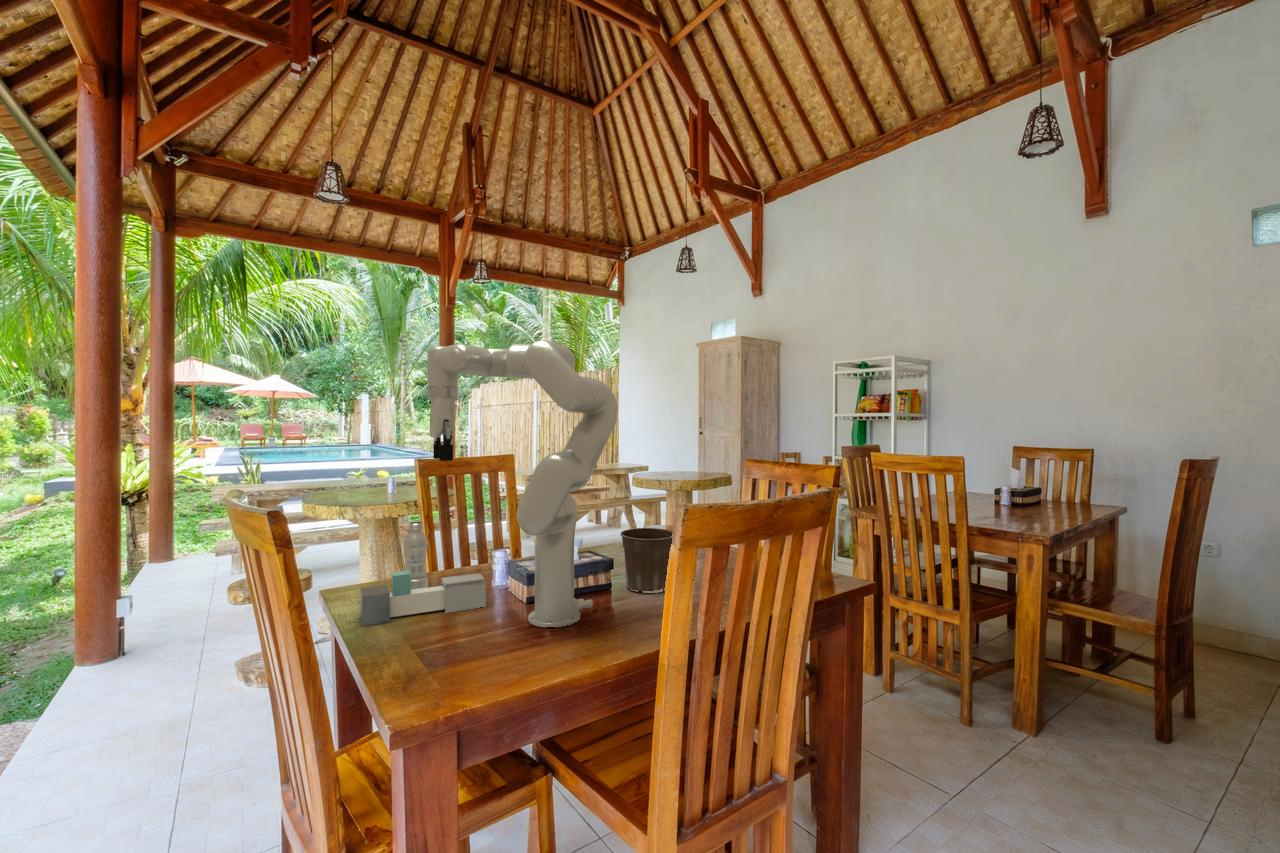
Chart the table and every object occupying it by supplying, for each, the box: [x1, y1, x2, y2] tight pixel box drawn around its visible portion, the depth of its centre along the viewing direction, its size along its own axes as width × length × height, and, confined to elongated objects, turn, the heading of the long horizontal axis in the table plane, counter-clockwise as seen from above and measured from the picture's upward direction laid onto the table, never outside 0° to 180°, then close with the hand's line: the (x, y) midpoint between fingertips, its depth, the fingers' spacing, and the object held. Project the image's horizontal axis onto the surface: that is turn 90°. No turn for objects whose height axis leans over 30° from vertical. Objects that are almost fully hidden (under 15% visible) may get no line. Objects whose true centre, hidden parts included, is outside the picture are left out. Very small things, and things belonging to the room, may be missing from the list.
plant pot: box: [620, 527, 674, 593], centre depth 166 cm, size 16×16×16 cm
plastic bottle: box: [403, 521, 429, 590], centre depth 160 cm, size 6×7×20 cm
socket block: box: [359, 584, 391, 627], centre depth 140 cm, size 6×8×7 cm
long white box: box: [389, 570, 445, 618], centre depth 143 cm, size 20×4×10 cm, turn 118°
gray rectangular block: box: [440, 572, 487, 614], centre depth 150 cm, size 10×7×7 cm
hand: (442, 459), depth 150 cm, fingers open, 9 cm apart
